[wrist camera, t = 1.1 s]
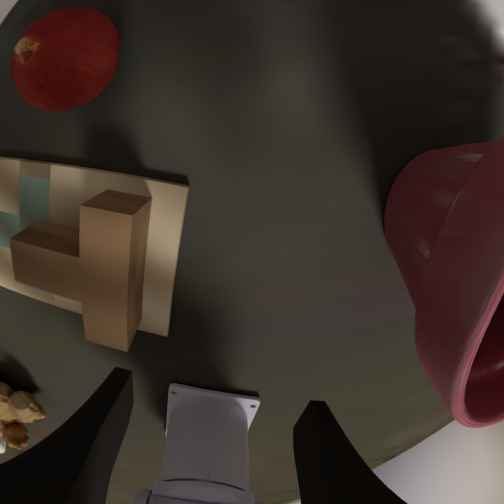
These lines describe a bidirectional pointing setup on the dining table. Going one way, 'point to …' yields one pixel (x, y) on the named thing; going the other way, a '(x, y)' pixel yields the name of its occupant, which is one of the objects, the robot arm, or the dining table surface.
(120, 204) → the t block
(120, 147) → the dining table surface
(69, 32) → the onion
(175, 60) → the dining table surface
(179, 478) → the robot arm
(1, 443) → the white jar
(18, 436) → the ginger root
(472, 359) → the plant pot
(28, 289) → the board
